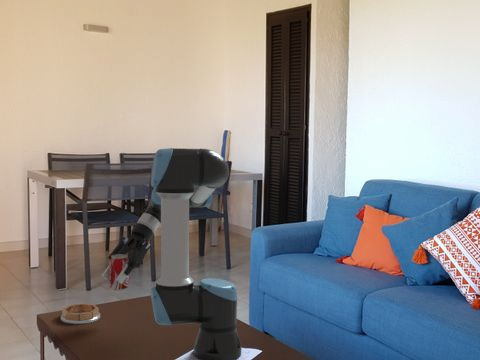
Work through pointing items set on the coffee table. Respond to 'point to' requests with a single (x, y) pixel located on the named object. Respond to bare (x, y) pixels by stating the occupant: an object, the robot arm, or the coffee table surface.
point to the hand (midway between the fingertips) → (111, 279)
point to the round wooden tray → (80, 314)
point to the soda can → (117, 272)
